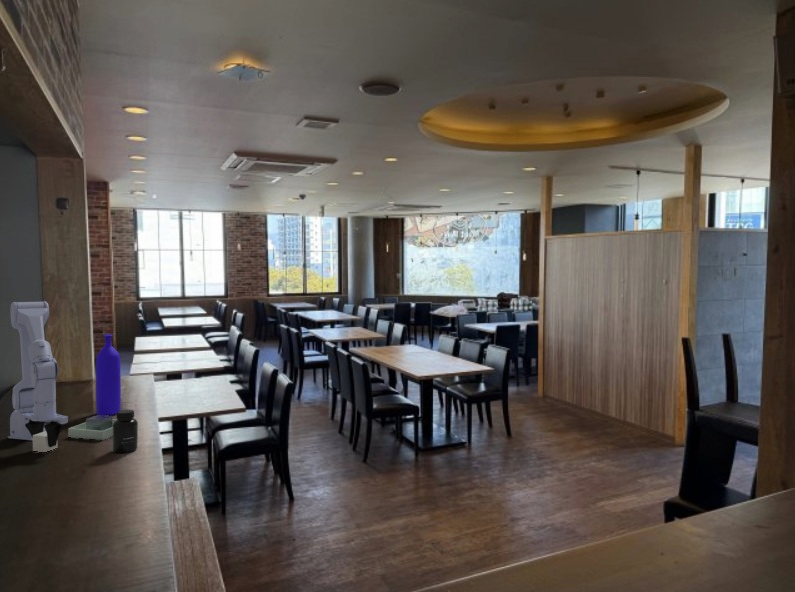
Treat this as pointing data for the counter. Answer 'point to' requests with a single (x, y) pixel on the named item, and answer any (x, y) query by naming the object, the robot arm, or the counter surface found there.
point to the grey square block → (99, 422)
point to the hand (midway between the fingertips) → (45, 445)
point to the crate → (90, 432)
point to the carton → (42, 442)
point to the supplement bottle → (125, 432)
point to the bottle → (108, 380)
